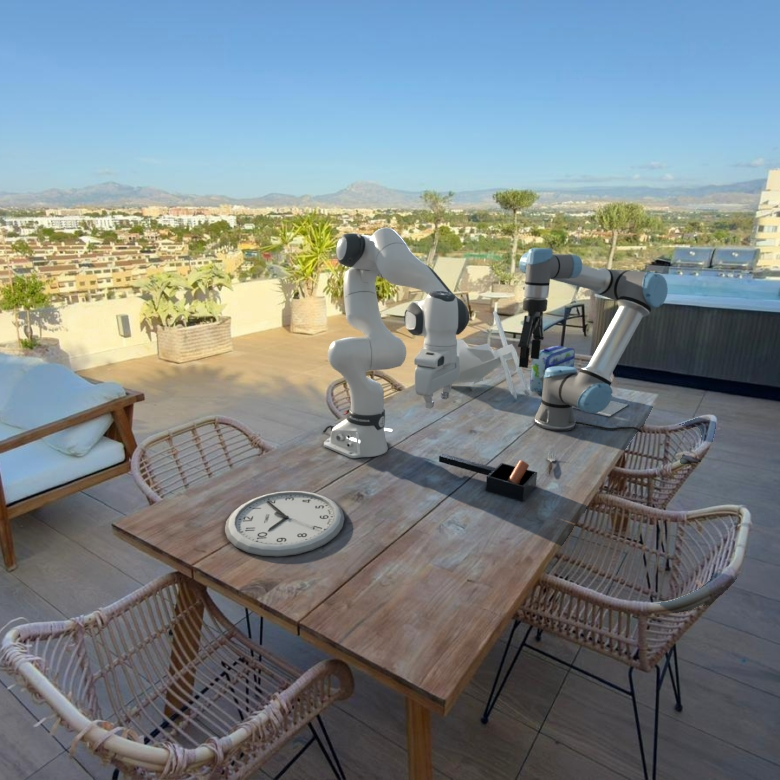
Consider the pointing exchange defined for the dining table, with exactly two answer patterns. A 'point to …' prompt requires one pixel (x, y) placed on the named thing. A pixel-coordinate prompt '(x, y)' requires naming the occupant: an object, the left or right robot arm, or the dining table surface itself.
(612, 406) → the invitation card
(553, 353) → the lunch box
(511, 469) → the pan
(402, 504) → the dining table surface
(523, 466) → the peg
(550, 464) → the fork
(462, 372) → the white plastic object
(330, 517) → the wall clock
